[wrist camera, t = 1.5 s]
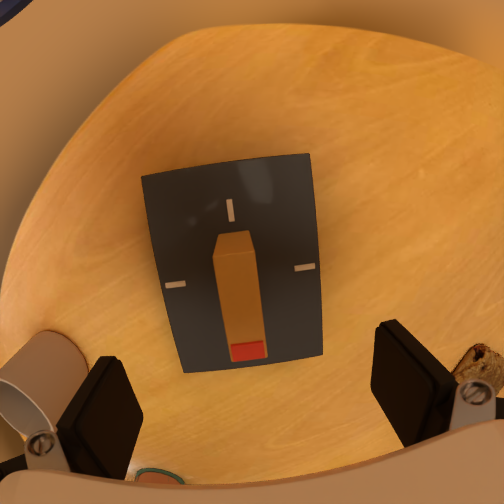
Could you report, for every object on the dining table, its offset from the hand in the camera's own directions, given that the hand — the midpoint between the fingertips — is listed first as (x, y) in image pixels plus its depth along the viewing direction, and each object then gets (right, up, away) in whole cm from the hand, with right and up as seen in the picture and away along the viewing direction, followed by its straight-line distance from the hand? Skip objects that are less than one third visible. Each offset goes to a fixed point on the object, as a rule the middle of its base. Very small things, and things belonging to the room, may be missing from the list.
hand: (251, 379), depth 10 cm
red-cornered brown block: (-1, +3, +10) cm, 11 cm away
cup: (-19, -8, +15) cm, 25 cm away
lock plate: (-1, +4, +13) cm, 14 cm away
